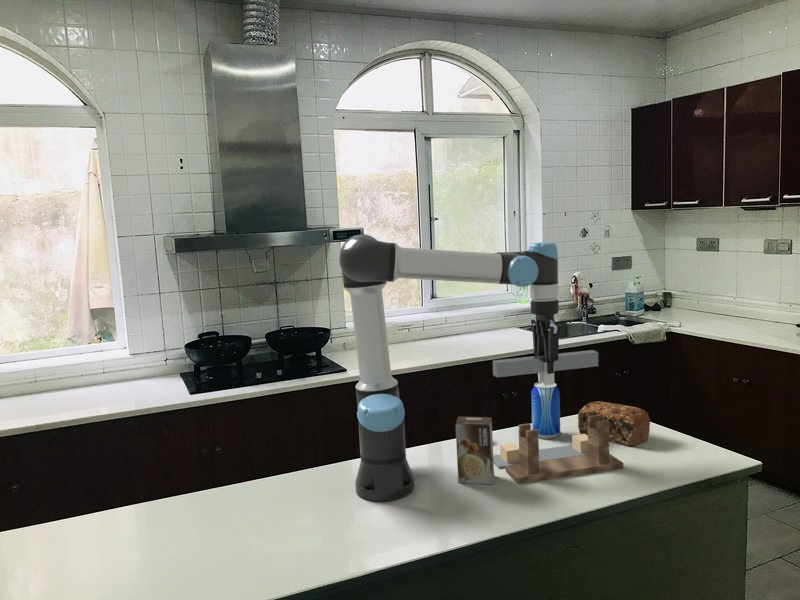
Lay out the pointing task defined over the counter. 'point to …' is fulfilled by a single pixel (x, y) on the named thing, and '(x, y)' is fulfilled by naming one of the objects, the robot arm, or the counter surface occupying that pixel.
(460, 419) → the coffee box
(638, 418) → the bread
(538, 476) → the walnut rack
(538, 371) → the steel rail
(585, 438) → the slate mat with oak rests
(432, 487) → the counter surface
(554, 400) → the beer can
